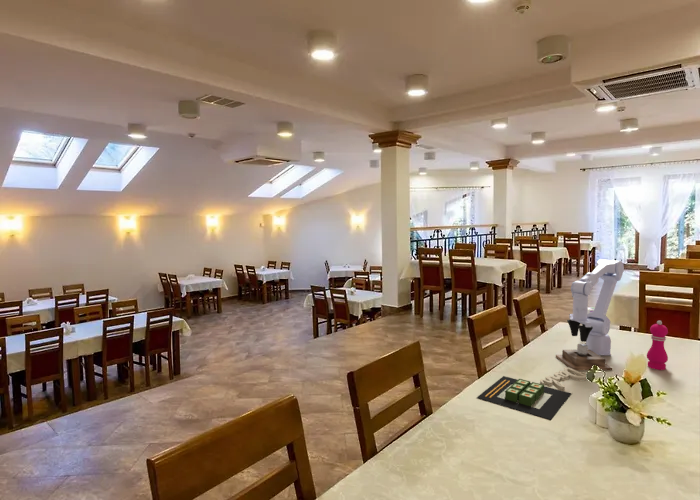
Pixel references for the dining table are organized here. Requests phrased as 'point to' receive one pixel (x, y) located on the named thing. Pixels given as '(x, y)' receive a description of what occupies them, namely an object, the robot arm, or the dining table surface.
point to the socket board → (582, 360)
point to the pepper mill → (657, 347)
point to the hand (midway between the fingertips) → (578, 338)
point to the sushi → (525, 396)
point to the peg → (582, 350)
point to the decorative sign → (563, 377)
